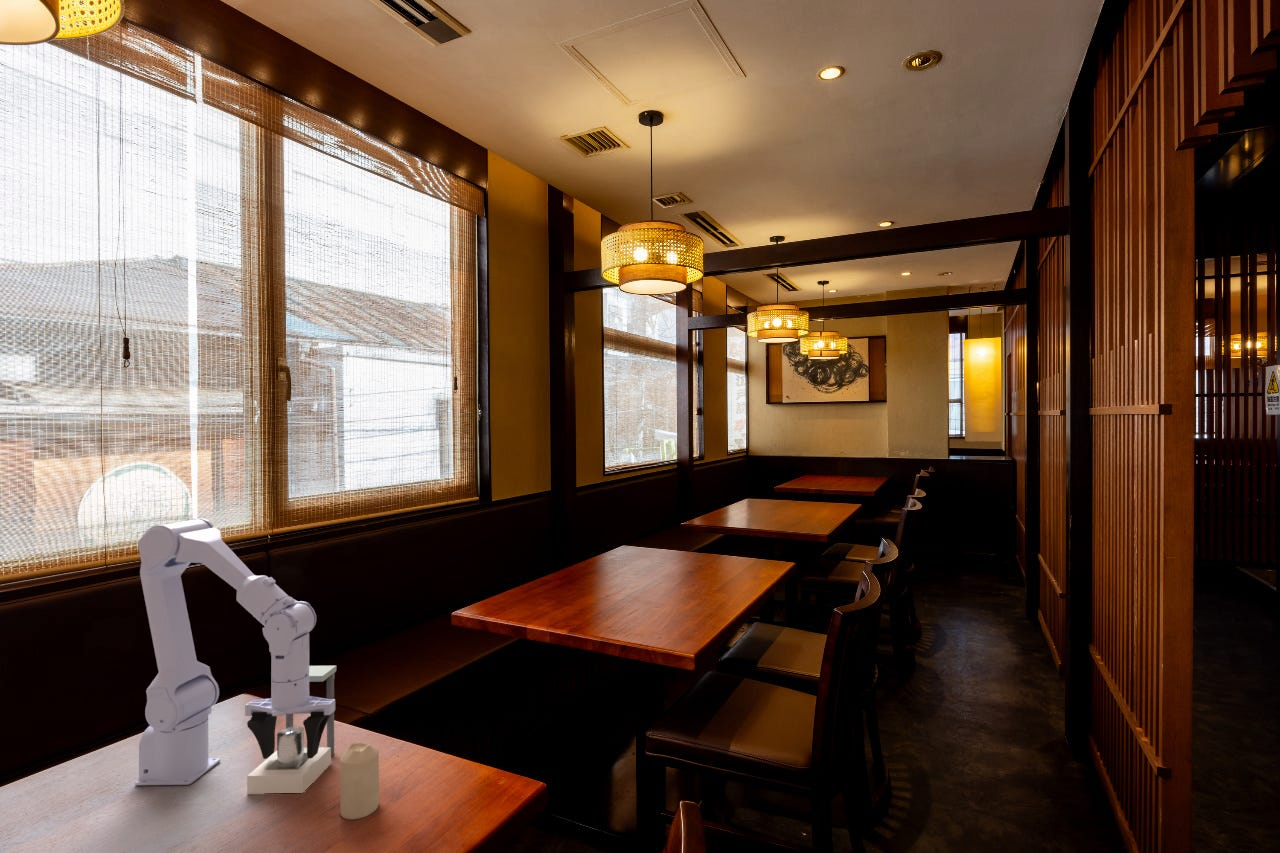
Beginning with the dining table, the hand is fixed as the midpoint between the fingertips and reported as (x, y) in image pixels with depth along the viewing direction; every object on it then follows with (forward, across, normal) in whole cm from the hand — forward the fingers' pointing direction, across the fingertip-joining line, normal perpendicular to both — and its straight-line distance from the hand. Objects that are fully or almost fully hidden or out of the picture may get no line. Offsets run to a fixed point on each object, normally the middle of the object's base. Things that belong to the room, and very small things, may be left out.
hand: (290, 755), depth 107 cm
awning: (+4, -1, +6) cm, 8 cm away
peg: (+4, 0, 0) cm, 4 cm away
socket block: (+4, 0, 0) cm, 4 cm away
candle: (+4, +16, -9) cm, 19 cm away
